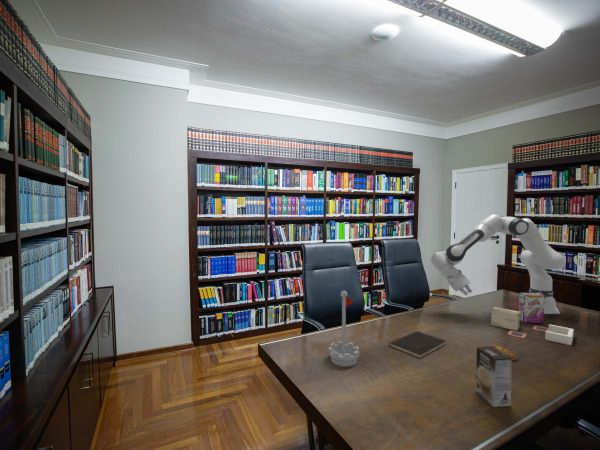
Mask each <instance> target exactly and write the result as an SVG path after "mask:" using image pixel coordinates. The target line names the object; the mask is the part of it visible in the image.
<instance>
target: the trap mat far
mask: <svg viewBox="0 0 600 450" xmlns="http://www.w3.org/2000/svg"><path fill="white" fill-rule="evenodd" d="M532 330H536V331H540V332H544V333H546V331H549V327H544V326H539V325H534V326H533V327H532Z"/></svg>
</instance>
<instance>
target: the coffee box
mask: <svg viewBox="0 0 600 450" xmlns="http://www.w3.org/2000/svg"><path fill="white" fill-rule="evenodd" d="M512 366H513V361H512V358H511V357H509V356H508V355H506V354H504V353H503V352H501V351H500V350H498V349H497V348H495V347H494V346H493V345H490V346H477V347H476V365H475V369H476V371H475V376H476V377H475V391H476V392H477V393H478V394H479V396H481V397H482V398H483V399H484V400H485V401H486V402H487V403H488V404H490V405H491V406H492V407H493V408H496V407H497V408H498V407H499V406H500V407H510V406H511V401H512V400H511V397H512V373H513V372H512V369H513V367H512Z"/></svg>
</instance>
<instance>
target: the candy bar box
mask: <svg viewBox="0 0 600 450" xmlns="http://www.w3.org/2000/svg"><path fill="white" fill-rule="evenodd" d="M518 296H519V297H518V311H519V312H520V320H519V322H521V323H526V324H527V323H528V324H529V323H530V324H531V323H532V324H544V318H545V317H544V316H545V314H544V300H545V295H542V294H539V293H529V292H519V295H518Z"/></svg>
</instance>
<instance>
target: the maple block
mask: <svg viewBox="0 0 600 450" xmlns="http://www.w3.org/2000/svg"><path fill="white" fill-rule="evenodd" d="M490 314H491V316H490V317H491V321H490V322H491V324H490V325H491V326H495V327H499V328H504V329H509V330H511V331H515V332H518V330H519V328H520V312H519V310H518V311H517V310H512V309H507V308H503V307H496V306H494V307H493V308H491V313H490Z"/></svg>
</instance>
